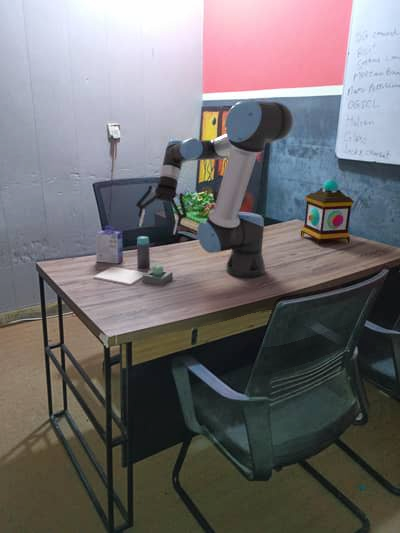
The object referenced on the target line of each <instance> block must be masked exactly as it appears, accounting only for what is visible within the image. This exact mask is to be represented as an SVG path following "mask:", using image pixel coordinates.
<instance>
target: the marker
mask: <svg viewBox="0 0 400 533" xmlns="http://www.w3.org/2000/svg"><path fill="white" fill-rule="evenodd" d="M136 240H137V241H136V242H137V243H136V253H137V268H138V269H141V270H145V269H149V268H151V267H150V266H151V263H150V261H151V258H150V254H151V253H150V240H149V236H145V235H142V236H137V238H136Z"/></svg>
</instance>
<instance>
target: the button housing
mask: <svg viewBox="0 0 400 533" xmlns="http://www.w3.org/2000/svg"><path fill="white" fill-rule="evenodd" d="M145 273H146V274H144V275H143V278H142V282H143V283H147V284H153V285H158V286H164V285H165V284H166V283H168V282H170V280H172V279H173V271H169V270H164V269H163V275H162V276H160V277H159V276H153V275H152V269H151V270H149V271H147V272H145Z"/></svg>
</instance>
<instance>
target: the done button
mask: <svg viewBox="0 0 400 533" xmlns="http://www.w3.org/2000/svg"><path fill="white" fill-rule="evenodd" d="M151 270H152V275H153V276H159V277H160V276H162V275H163V270H164V266H163V265H158V264H157V265H152V266H151Z"/></svg>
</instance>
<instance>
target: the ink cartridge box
mask: <svg viewBox="0 0 400 533" xmlns="http://www.w3.org/2000/svg"><path fill="white" fill-rule="evenodd" d="M109 228H110V229H109ZM114 229H115V226H113V225H105V228H104V230H98V231H97V232H96V233H94V237H95V238H94V239H95V254H96V262H99V263H110V264H120V263H121V262H123V261H124V249H123V248H124V247H123V232H122V231H116V230H115V231H114Z"/></svg>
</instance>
